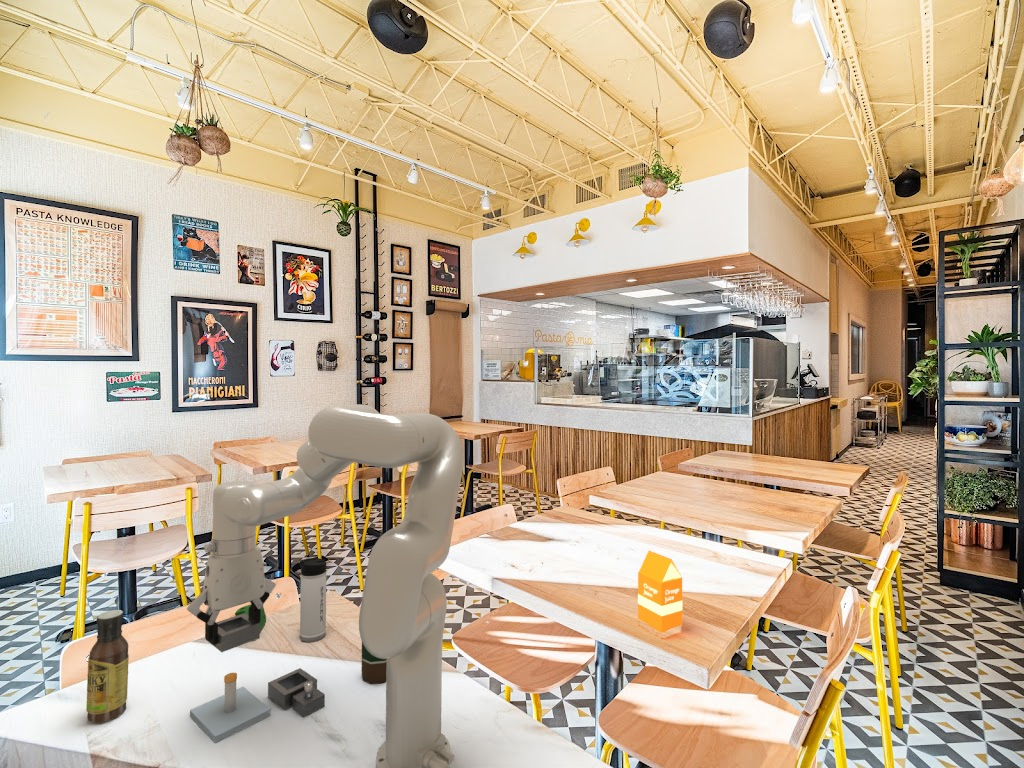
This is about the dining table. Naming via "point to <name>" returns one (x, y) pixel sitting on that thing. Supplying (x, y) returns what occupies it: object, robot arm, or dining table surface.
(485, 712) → the dining table surface
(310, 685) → the knobbed metal block
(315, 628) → the travel mug
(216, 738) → the keeper
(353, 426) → the robot arm
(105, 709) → the sauce bottle
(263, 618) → the green mounting bracket
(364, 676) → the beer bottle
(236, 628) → the end link
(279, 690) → the link
